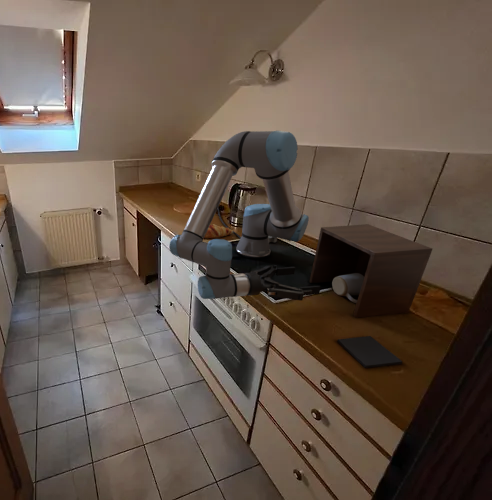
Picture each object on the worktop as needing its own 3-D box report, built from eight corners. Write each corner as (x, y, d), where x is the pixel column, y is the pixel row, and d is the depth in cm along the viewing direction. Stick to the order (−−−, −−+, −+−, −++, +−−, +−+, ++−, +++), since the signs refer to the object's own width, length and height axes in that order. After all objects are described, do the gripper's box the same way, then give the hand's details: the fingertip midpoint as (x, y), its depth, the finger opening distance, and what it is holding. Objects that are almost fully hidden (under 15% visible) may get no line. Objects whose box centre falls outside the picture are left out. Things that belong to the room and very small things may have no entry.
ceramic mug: (328, 289, 109) (333, 271, 106) (348, 287, 110) (353, 269, 107) (350, 306, 99) (356, 286, 96) (372, 303, 100) (379, 283, 97)
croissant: (229, 238, 170) (228, 224, 170) (238, 235, 160) (236, 221, 160) (194, 241, 166) (192, 227, 167) (200, 238, 156) (199, 223, 157)
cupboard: (309, 281, 115) (320, 227, 106) (352, 278, 117) (367, 224, 108) (355, 317, 93) (375, 253, 85) (408, 312, 95) (432, 248, 86)
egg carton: (255, 236, 162) (256, 229, 160) (269, 235, 162) (270, 228, 160) (263, 243, 152) (264, 236, 150) (278, 242, 152) (279, 235, 151)
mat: (336, 341, 84) (337, 339, 83) (369, 338, 85) (370, 335, 84) (365, 368, 75) (366, 365, 74) (401, 363, 75) (402, 361, 75)
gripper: (229, 276, 111) (283, 272, 113) (261, 316, 88) (329, 309, 90) (231, 258, 108) (287, 254, 110) (265, 294, 85) (334, 288, 87)
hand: (306, 279), depth 100 cm, fingers open, 13 cm apart
